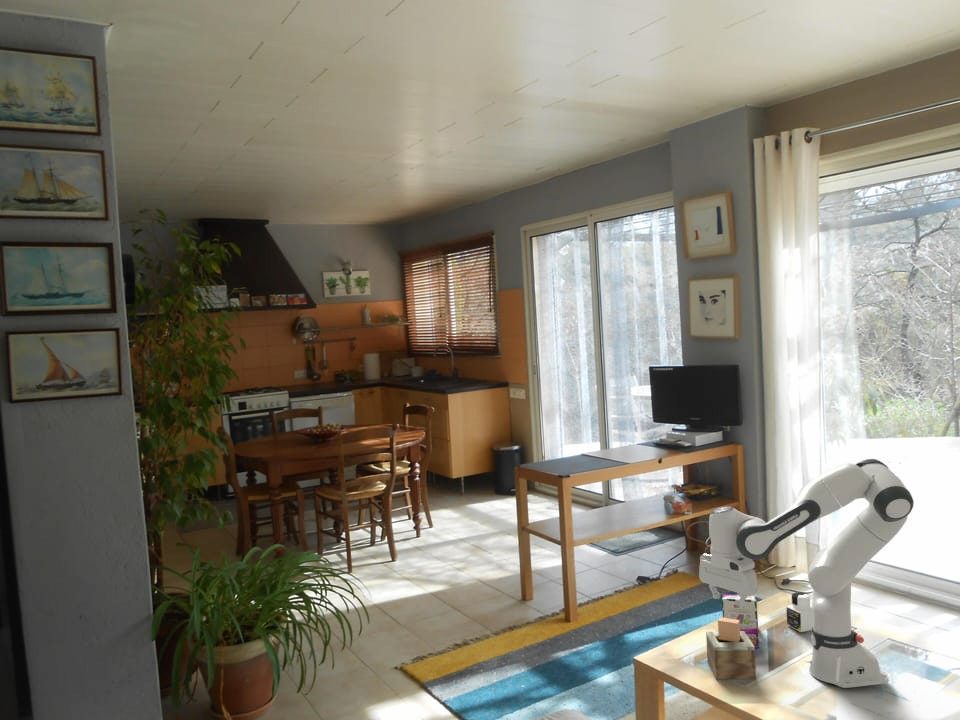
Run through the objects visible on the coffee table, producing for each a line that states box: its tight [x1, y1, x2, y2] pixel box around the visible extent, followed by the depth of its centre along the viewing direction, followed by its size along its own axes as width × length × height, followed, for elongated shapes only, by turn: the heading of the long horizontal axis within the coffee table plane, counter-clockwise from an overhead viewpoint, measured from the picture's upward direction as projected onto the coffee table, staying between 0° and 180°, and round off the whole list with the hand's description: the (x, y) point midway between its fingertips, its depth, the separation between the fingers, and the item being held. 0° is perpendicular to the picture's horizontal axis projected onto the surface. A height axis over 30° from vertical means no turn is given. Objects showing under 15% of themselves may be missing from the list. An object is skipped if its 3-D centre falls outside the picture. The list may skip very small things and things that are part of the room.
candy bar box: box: [721, 594, 760, 649], centre depth 253 cm, size 11×5×16 cm, turn 71°
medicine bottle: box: [785, 591, 813, 633], centre depth 264 cm, size 7×7×12 cm
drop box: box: [705, 630, 757, 680], centre depth 235 cm, size 12×12×10 cm
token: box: [717, 616, 741, 642], centre depth 234 cm, size 6×3×6 cm, turn 59°
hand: (728, 602), depth 234 cm, fingers open, 8 cm apart
